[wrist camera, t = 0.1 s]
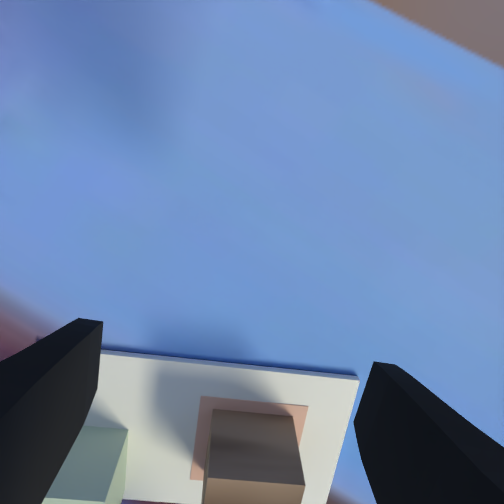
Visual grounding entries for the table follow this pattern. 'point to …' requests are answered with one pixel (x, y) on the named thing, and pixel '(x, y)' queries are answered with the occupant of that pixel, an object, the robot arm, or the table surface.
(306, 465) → the build mat
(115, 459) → the sage block
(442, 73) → the table surface
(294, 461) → the walnut block
